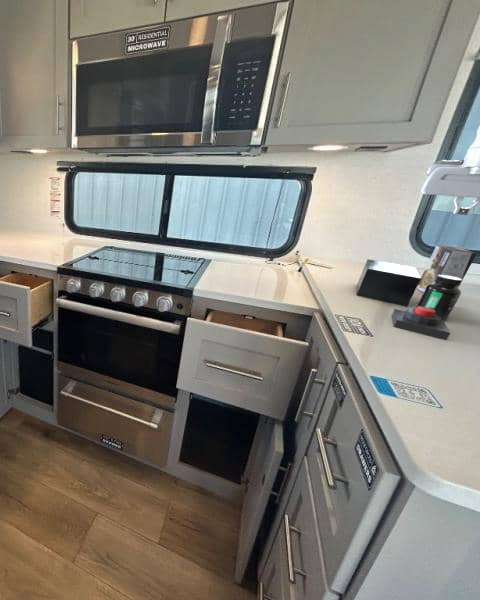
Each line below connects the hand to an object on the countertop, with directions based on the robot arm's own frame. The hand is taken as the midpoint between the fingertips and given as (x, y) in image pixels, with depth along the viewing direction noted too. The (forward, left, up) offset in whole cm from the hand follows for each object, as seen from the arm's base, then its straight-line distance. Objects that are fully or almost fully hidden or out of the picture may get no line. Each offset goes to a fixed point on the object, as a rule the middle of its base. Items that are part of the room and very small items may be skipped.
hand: (461, 214), depth 92 cm
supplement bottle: (-2, +8, -28) cm, 29 cm away
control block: (+2, +22, -28) cm, 36 cm away
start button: (+2, +22, -25) cm, 33 cm away
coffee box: (-6, -22, -28) cm, 37 cm away
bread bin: (+9, -4, -28) cm, 30 cm away
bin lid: (+9, -4, -19) cm, 21 cm away
